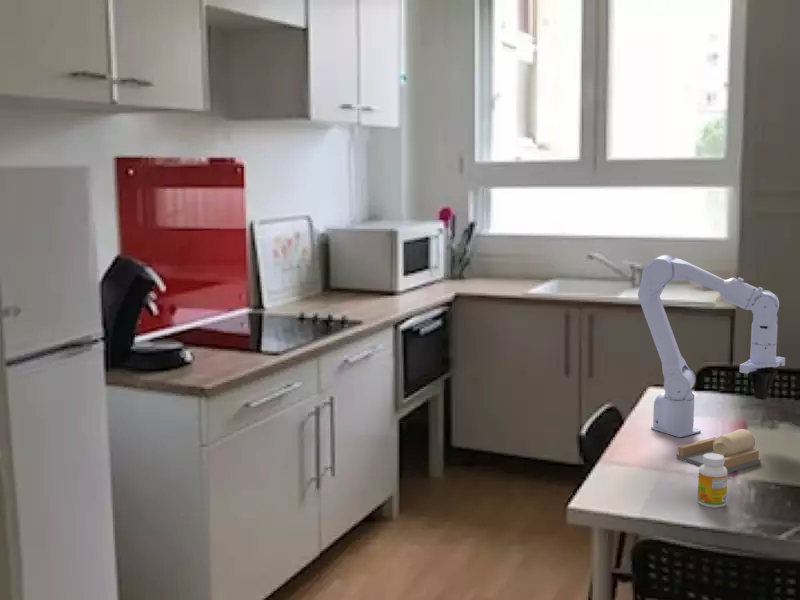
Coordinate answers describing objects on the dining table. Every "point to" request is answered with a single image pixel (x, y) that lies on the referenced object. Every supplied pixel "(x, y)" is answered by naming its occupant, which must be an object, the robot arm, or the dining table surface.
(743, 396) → the dining table surface
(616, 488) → the dining table surface
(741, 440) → the candle
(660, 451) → the dining table surface
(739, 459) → the tray
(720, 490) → the supplement bottle
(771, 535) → the dining table surface
